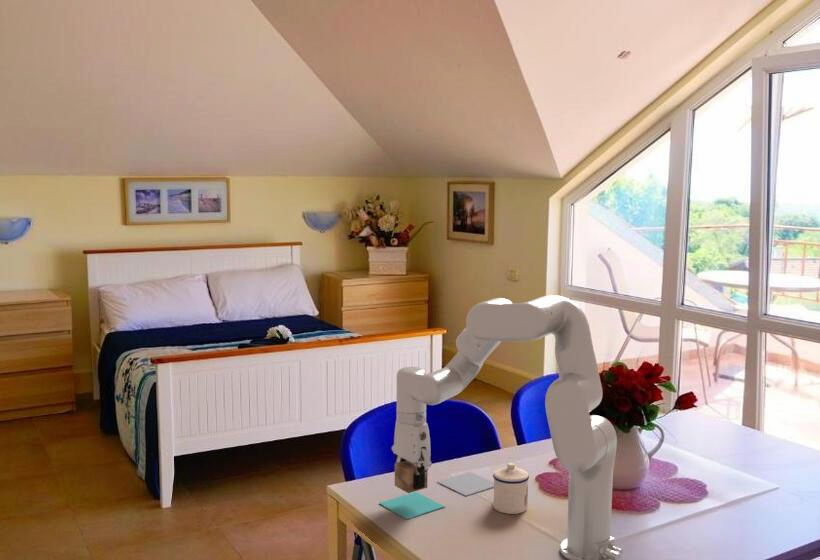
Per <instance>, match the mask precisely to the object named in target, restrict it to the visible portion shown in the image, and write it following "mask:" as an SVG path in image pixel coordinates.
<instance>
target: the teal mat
mask: <svg viewBox="0 0 820 560" xmlns="http://www.w3.org/2000/svg"><path fill="white" fill-rule="evenodd" d="M380 504H381V505H380ZM378 505H380V506H382V505H383V506H382V507H384V506H385V507H386V509H387V508H388V509H387V510H389V509H390V510H389V511H391V512H392V513H394V512H395V514H396V513H397V515H398V514H399V515H398V516H400V515H401V516H402V518H403V517H404V519H405V518H406V519H405V520H407V519H408V520H410V518H411V519H413V518H416V517H420V516H422V515H425V514H429V513H432V512H435V511H438V510H440V509H441V510H442V509H445V508H446V507H445V505H442V504H441V503H438V502H437V501H435V500H433V499H431V498H429V497H427V496H425V495H424V494H421V493H420V492H417V491H414V492H411V493H407V494H404V495H401V496H397V497H395V498H391V499H388V500H383V501H380V502H379V503H378ZM385 507H384V508H385ZM401 516H400V517H401Z"/></svg>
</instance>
